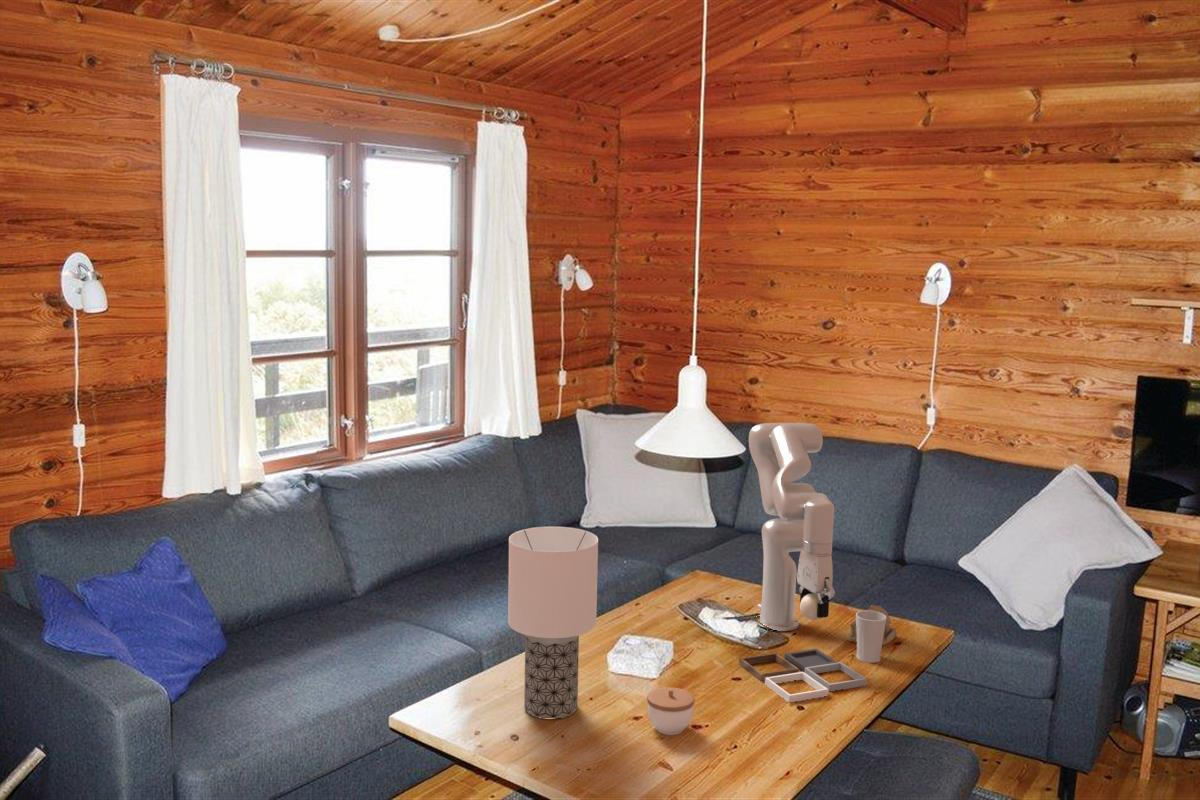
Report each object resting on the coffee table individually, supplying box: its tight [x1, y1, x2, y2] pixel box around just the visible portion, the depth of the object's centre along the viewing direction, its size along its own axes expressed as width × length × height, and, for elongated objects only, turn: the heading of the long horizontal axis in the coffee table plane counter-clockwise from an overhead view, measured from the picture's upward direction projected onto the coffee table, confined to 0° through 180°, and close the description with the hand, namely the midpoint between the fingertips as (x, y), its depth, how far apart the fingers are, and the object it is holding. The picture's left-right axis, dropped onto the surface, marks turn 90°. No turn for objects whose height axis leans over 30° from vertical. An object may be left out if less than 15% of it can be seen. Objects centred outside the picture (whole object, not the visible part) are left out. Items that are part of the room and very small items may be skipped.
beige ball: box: [799, 593, 821, 621], centre depth 274 cm, size 7×7×7 cm
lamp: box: [507, 526, 599, 719], centre depth 244 cm, size 21×21×42 cm
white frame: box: [764, 671, 829, 704], centre depth 260 cm, size 11×11×2 cm
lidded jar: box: [646, 686, 695, 736], centre depth 237 cm, size 11×11×9 cm
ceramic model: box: [845, 604, 897, 646], centre depth 295 cm, size 14×11×10 cm
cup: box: [855, 609, 886, 664], centre depth 280 cm, size 8×8×12 cm
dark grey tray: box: [783, 648, 839, 672], centre depth 277 cm, size 10×10×2 cm
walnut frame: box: [738, 652, 800, 682], centre depth 272 cm, size 11×11×2 cm
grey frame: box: [804, 661, 868, 692], centre depth 267 cm, size 11×11×2 cm
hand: (813, 611), depth 274 cm, fingers closed on beige ball, 7 cm apart
